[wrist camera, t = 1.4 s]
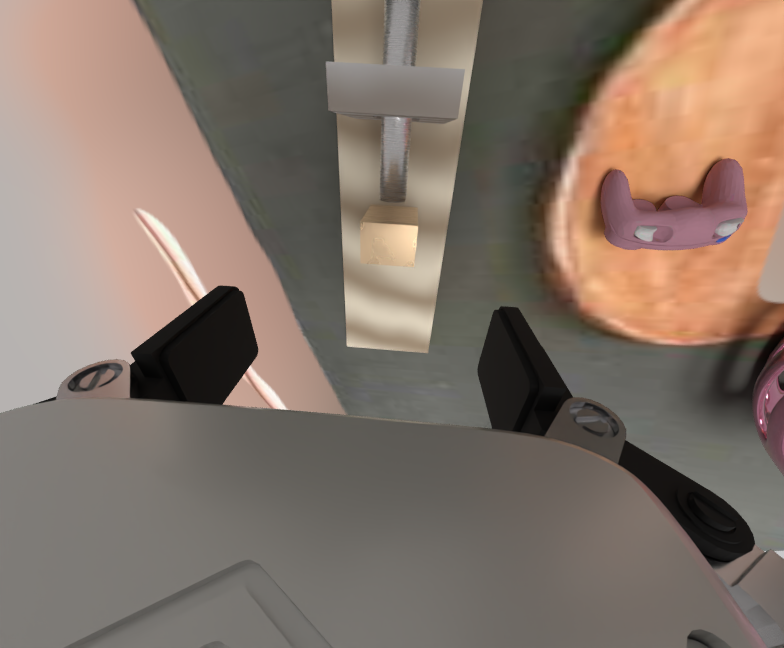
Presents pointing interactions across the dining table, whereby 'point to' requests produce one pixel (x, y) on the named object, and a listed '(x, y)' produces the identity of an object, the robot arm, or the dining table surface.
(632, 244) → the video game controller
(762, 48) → the dining table surface
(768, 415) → the spiral basket
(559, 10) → the dining table surface
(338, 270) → the dining table surface
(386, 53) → the peg
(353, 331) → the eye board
